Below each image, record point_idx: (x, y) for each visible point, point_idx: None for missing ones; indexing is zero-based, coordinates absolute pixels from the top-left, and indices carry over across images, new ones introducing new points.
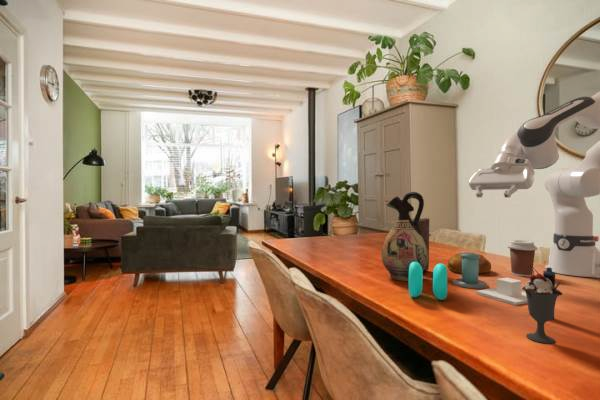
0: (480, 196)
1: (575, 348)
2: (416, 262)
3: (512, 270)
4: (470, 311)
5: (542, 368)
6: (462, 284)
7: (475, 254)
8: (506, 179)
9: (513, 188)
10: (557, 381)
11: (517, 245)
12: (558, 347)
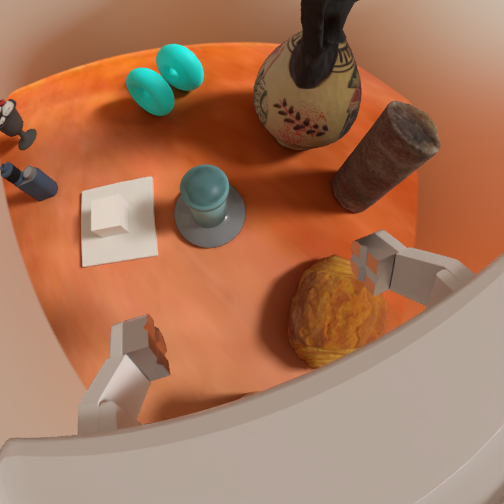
0: (351, 257)
1: (8, 153)
2: (173, 48)
3: None
4: (99, 118)
5: (15, 107)
6: None
7: (199, 199)
8: (178, 468)
9: (92, 391)
10: None
11: None
12: (15, 141)
